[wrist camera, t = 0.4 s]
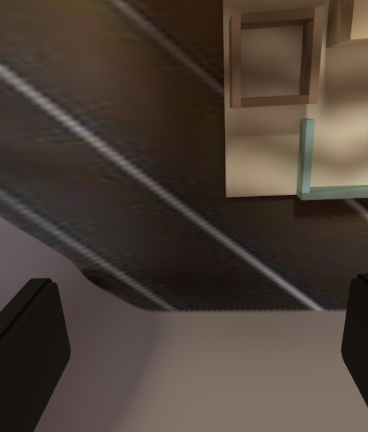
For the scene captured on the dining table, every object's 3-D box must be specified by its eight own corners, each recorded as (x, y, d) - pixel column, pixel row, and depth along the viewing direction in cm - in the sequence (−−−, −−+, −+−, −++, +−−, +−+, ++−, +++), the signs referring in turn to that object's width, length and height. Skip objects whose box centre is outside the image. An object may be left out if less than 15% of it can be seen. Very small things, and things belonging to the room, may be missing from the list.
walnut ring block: (228, 21, 33) (231, 13, 30) (312, 15, 32) (324, 6, 29) (229, 106, 36) (232, 108, 32) (306, 102, 35) (317, 103, 32)
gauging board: (222, -49, 32) (224, -63, 29) (421, -67, 30) (443, -83, 28) (225, 195, 40) (227, 203, 37) (383, 188, 39) (397, 196, 36)
